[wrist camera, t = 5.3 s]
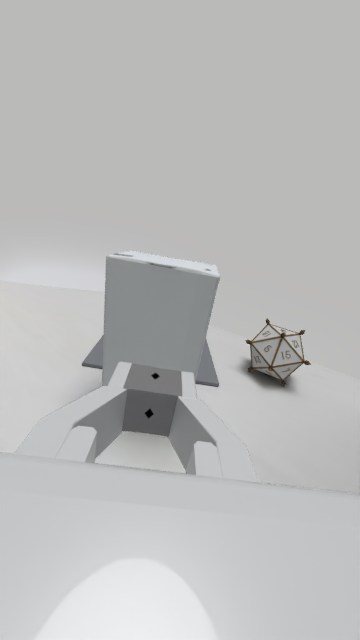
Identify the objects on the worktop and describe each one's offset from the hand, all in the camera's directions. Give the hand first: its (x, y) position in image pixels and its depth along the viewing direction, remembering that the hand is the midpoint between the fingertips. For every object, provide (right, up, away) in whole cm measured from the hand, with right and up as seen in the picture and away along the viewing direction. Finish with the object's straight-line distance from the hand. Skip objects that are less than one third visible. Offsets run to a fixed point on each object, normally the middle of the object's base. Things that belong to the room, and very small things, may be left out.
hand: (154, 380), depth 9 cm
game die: (+14, -6, +24) cm, 29 cm away
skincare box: (-2, -6, +14) cm, 15 cm away
